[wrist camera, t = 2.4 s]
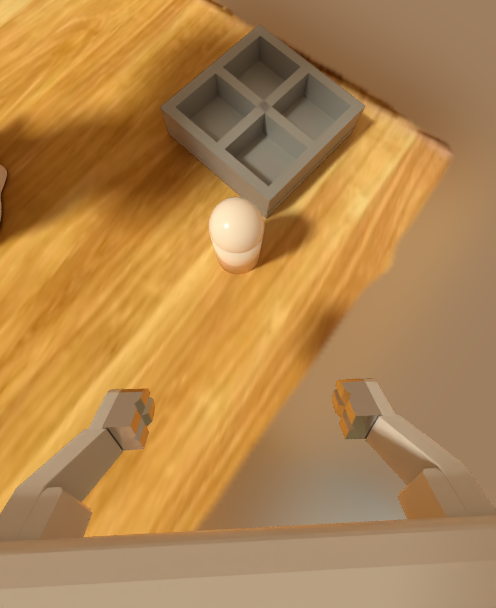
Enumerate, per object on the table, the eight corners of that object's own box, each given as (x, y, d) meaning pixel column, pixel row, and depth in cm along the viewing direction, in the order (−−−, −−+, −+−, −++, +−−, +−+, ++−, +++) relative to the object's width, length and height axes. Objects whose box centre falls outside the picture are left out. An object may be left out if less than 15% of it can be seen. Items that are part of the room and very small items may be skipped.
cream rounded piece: (207, 254, 28) (191, 213, 19) (237, 225, 28) (234, 172, 19) (239, 282, 27) (237, 254, 18) (267, 253, 28) (279, 211, 19)
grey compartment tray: (168, 134, 30) (159, 107, 27) (257, 58, 32) (259, 23, 29) (266, 218, 28) (269, 201, 25) (352, 132, 31) (366, 105, 27)
